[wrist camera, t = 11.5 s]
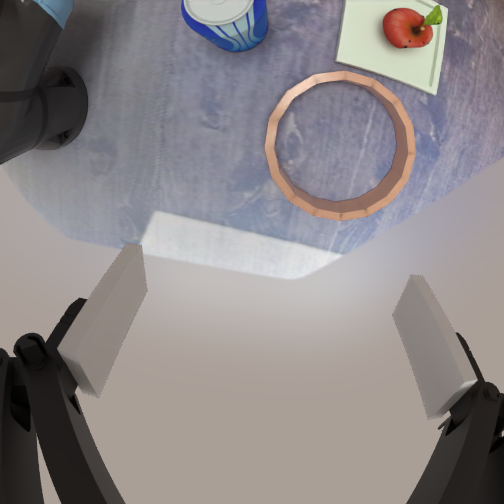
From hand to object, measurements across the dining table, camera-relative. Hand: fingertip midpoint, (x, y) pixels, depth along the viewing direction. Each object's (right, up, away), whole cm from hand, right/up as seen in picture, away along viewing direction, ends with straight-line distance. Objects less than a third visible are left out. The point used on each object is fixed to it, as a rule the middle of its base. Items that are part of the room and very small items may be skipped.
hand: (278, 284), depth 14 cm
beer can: (-3, +33, +19) cm, 38 cm away
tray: (+19, +34, +17) cm, 42 cm away
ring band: (+12, +18, +27) cm, 34 cm away
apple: (+20, +33, +16) cm, 42 cm away
